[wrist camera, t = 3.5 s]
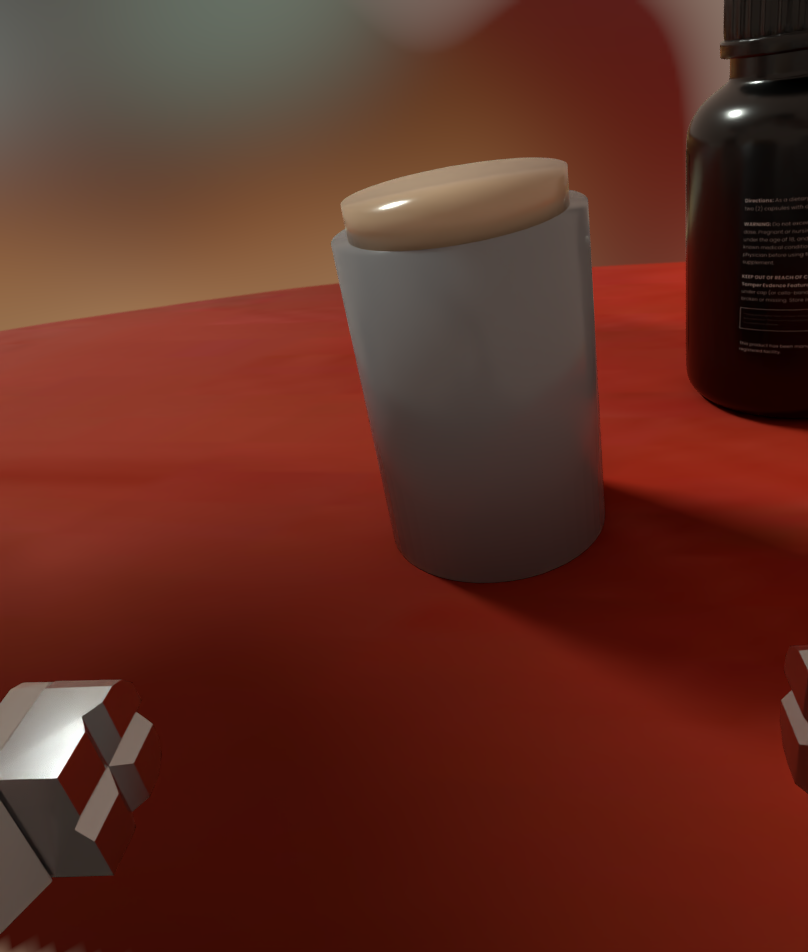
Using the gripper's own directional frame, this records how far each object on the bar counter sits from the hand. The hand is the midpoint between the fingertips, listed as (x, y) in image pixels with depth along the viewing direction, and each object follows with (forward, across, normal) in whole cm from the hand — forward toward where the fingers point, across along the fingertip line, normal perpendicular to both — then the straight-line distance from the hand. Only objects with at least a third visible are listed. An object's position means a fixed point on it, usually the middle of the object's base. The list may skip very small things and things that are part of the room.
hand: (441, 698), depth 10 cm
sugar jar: (+12, 0, +5) cm, 13 cm away
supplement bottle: (+19, -10, +5) cm, 22 cm away
